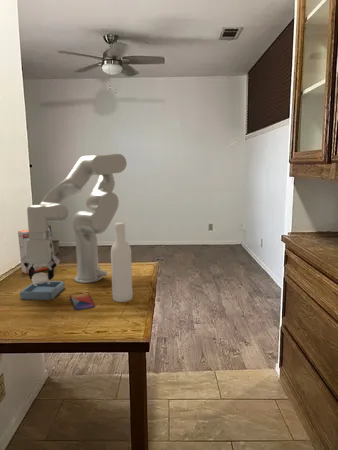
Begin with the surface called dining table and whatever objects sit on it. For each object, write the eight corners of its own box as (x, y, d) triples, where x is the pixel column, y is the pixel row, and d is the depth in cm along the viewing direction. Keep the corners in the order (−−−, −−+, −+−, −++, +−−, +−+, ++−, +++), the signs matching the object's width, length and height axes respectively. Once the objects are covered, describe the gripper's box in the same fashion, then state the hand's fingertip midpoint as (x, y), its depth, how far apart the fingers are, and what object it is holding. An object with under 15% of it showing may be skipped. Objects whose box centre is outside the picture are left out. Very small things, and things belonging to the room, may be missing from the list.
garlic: (51, 284, 142) (51, 274, 141) (34, 287, 138) (33, 277, 138) (47, 278, 148) (46, 270, 148) (30, 281, 145) (29, 272, 144)
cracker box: (47, 266, 185) (44, 226, 181) (53, 268, 181) (50, 228, 177) (21, 272, 175) (17, 230, 172) (26, 274, 171) (22, 232, 167)
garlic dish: (65, 287, 152) (64, 281, 152) (51, 299, 139) (51, 293, 138) (35, 286, 154) (35, 280, 153) (19, 299, 140) (19, 292, 139)
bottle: (113, 295, 143) (110, 221, 138) (132, 294, 144) (130, 221, 138) (111, 302, 135) (108, 225, 130) (132, 301, 136) (130, 224, 131)
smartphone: (75, 312, 128) (74, 309, 128) (69, 297, 142) (69, 294, 142) (95, 309, 131) (95, 306, 131) (88, 294, 145) (88, 292, 144)
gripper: (63, 234, 145) (65, 276, 148) (22, 233, 146) (25, 275, 149) (56, 238, 138) (58, 282, 140) (13, 237, 139) (16, 280, 142)
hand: (41, 278), depth 145 cm, fingers closed on garlic, 7 cm apart
